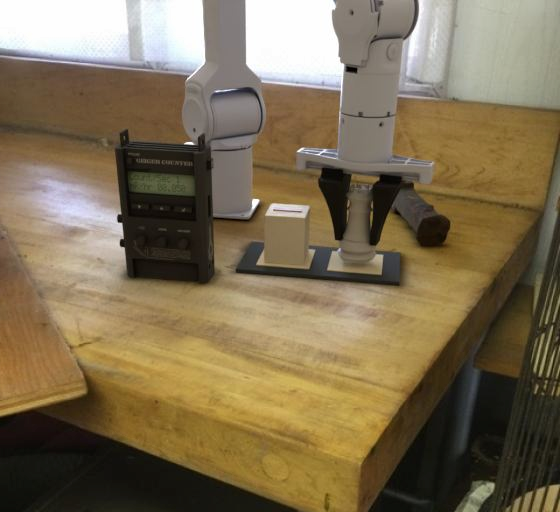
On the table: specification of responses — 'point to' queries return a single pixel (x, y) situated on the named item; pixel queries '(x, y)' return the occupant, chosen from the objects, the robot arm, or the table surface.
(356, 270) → the word mat
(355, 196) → the rook chess piece
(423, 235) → the hand tool
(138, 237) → the geiger counter
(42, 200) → the table surface
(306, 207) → the slotted ballot box
